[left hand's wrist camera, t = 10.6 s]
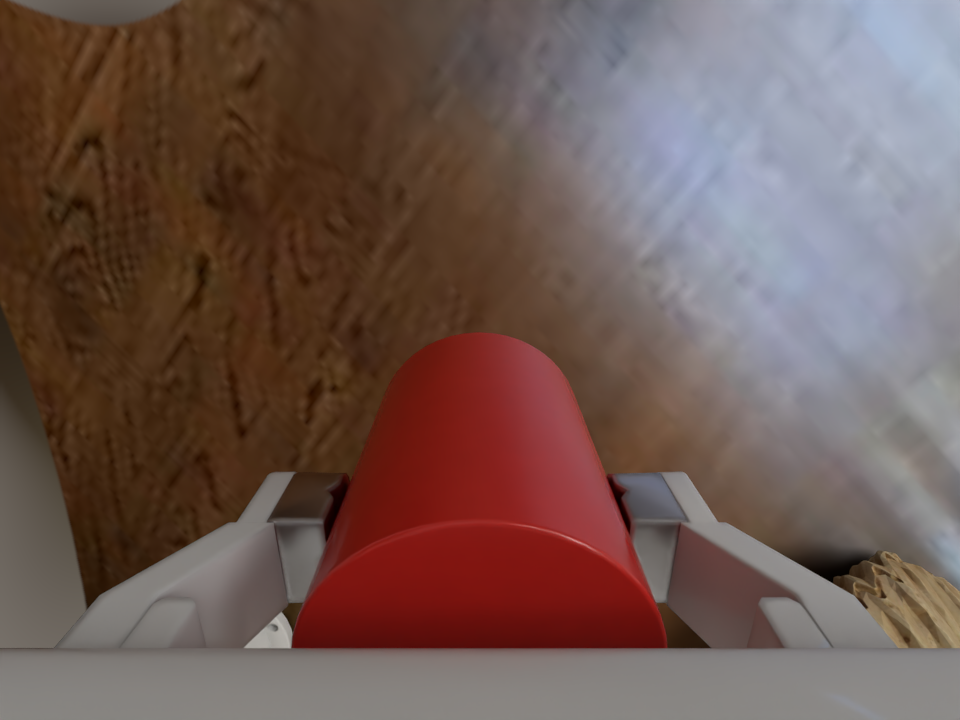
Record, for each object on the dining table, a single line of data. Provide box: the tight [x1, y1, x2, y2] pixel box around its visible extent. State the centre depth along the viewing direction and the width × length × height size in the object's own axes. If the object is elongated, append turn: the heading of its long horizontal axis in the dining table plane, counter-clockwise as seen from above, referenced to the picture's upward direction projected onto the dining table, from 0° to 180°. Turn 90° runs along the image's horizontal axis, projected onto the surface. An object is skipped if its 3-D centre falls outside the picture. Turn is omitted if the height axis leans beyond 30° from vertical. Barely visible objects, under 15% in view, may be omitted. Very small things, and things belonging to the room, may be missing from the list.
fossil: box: [833, 550, 960, 648], centre depth 36 cm, size 15×17×15 cm
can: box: [291, 332, 668, 648], centre depth 11 cm, size 5×5×7 cm
